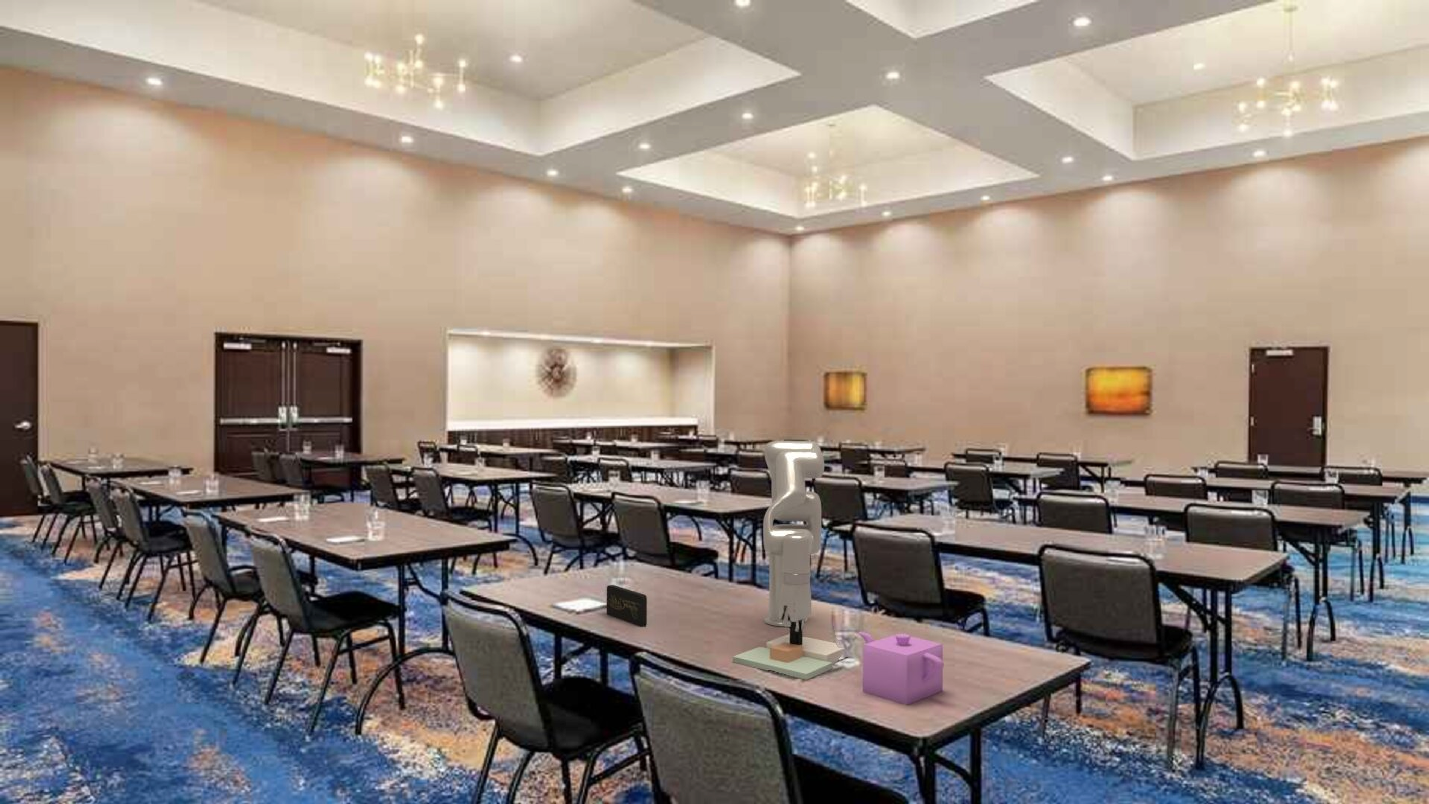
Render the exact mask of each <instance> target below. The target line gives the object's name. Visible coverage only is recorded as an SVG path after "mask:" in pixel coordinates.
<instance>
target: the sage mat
mask: <svg viewBox="0 0 1429 804" xmlns="http://www.w3.org/2000/svg"><path fill="white" fill-rule="evenodd" d="M732 663H734V664H739V665H743V666H748V667H751V668H757V669H761V670H765V671H768V670H774V671H776V672H779V673H778V674H780V673H784V674H786V675H785V676H788V675H789V676H788V677H793V676H794V677H793V678H796V679H802V680H804V681H805V680H806V681H807V680H809V679H811V678H814V677H816V676H818V675H821V674H823V673H825V672H827V671H829V670H832V669H833V664H832V663H831V662H827V661H822V660H818V659H813V658H809V657H804V656H803V657H801V658H799V659H796V660H794V661H791V662H789V663H787V662H783V661H778V660H774V659H770V649H768V648H766V647H763V646H758V647H756V648H755V647H754V648H752V649H750V650H747V651H745V652H741V653H739V654H737V655H733V656H732ZM776 672H775V673H776ZM784 674H783V675H784Z"/></svg>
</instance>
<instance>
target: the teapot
mask: <svg viewBox="0 0 1429 804" xmlns="http://www.w3.org/2000/svg"><path fill="white" fill-rule="evenodd" d="M858 634H859V635H860V636H861V637H862V638H863V639H864V641H865V643H864V644H863V645H862V692H863V693H866V694H868V695H871V696H872V695H873V696H875V697H879V698H882V699H885V700H889V701H892V702H894V703H895V702H896V703H898V704H902V705H905V706H908V705H911V704H913V703H915V702H918V701H920V700H923V699H926V698H928V697H931V696H933V695H936V694H938V693H941V692H943V687H944V686H943V685H944V684H943V683H944V682H943V681H944V680H943V677H944V676H943V669H944V665H945V664H944V660H943V657H944V655H943V654H944V651H943V650H944V649H943V648H944V647H943V646H944V645H943V644H942V643H939V642H935V641H932V640H928V639H922V638H918V637H916V636H915V637H914V636H911V635H910V634H907V633H896V634H895V635H890V636H887V637H883V638H881V639H878V640H874V638H873V637H872V635H871V634H869V633H867V632H863V631H858Z"/></svg>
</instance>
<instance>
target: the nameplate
mask: <svg viewBox="0 0 1429 804" xmlns="http://www.w3.org/2000/svg"><path fill="white" fill-rule="evenodd" d="M647 605H648V597H647V595H646V594H645V593H641V592H637V591H634V590H631V589H628V588H624V587H621V586H617V585H615V584H610V585H607V586H606V614H607V615H606V616H609V617H613V618H615V619H617V620H620V621H623V622H626V623H629V624H632V625H635V626H636V627H639V628H642V627H646V626H647V624H648V622H647V621H648V618H647V617H648V614H647V613H648V606H647Z"/></svg>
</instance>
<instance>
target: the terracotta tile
mask: <svg viewBox="0 0 1429 804" xmlns="http://www.w3.org/2000/svg"><path fill="white" fill-rule="evenodd" d="M801 657H803V646H800V645H796V644H791V643H786V642H784V643H781V644H778V645H775V646H773V647H770V659H774V660H778V661H783V662H787V663H789V662H791V661H794V660H796V659H799V658H801Z"/></svg>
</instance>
